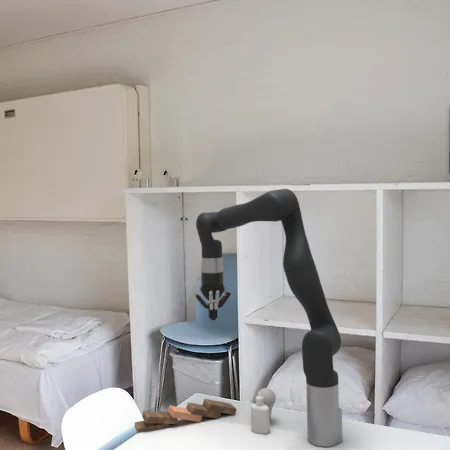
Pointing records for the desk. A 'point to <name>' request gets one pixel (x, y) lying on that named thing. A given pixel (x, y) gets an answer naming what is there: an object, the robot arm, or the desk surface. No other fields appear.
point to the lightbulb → (268, 398)
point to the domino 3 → (183, 414)
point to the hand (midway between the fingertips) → (213, 319)
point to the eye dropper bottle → (260, 416)
